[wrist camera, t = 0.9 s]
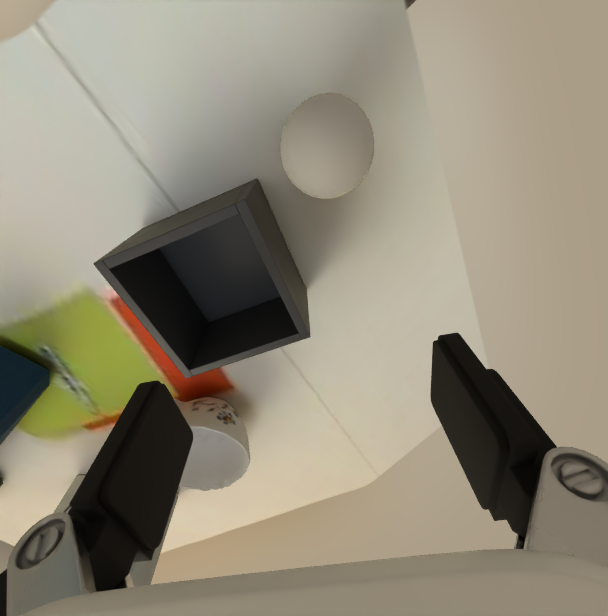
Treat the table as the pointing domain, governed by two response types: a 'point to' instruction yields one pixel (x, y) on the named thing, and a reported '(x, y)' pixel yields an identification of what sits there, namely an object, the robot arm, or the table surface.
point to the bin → (212, 282)
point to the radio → (18, 388)
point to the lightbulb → (327, 146)
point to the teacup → (214, 444)
